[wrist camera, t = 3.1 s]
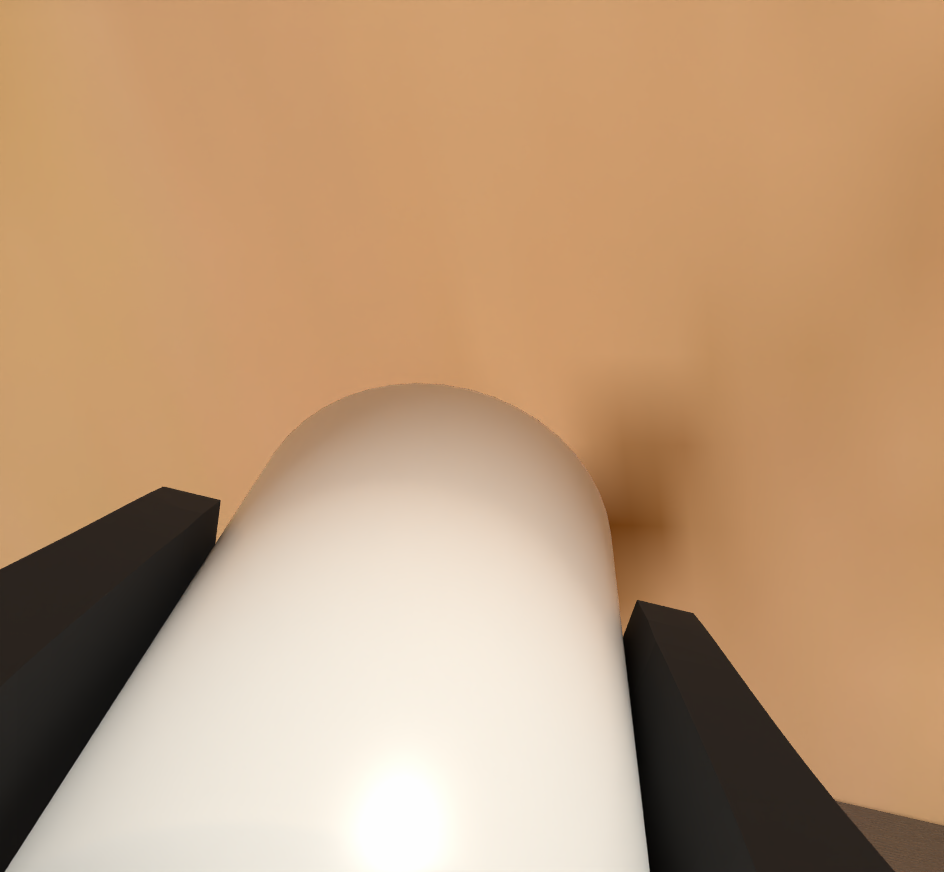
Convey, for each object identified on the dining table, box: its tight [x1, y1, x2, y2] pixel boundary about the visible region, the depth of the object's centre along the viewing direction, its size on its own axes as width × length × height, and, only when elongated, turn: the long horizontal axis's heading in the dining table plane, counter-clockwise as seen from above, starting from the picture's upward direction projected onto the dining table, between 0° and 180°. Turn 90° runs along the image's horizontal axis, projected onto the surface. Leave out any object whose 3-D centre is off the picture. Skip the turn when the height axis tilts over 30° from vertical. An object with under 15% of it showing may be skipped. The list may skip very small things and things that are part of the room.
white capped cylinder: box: [5, 383, 650, 872], centre depth 8 cm, size 4×4×7 cm
